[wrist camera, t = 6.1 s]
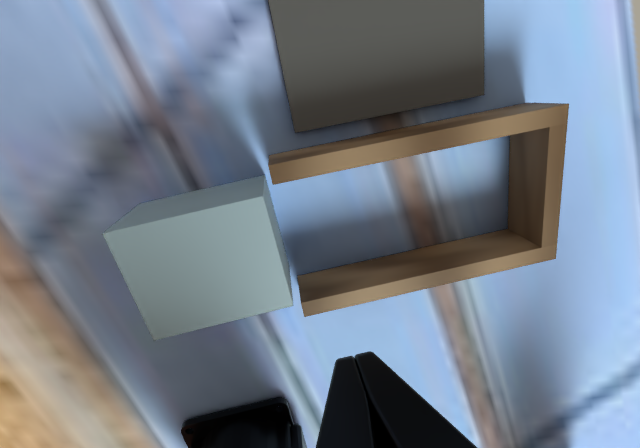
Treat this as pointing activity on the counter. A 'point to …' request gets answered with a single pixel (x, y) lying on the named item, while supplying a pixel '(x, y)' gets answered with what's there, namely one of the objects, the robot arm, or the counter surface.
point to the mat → (376, 56)
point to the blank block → (203, 257)
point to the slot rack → (460, 255)
